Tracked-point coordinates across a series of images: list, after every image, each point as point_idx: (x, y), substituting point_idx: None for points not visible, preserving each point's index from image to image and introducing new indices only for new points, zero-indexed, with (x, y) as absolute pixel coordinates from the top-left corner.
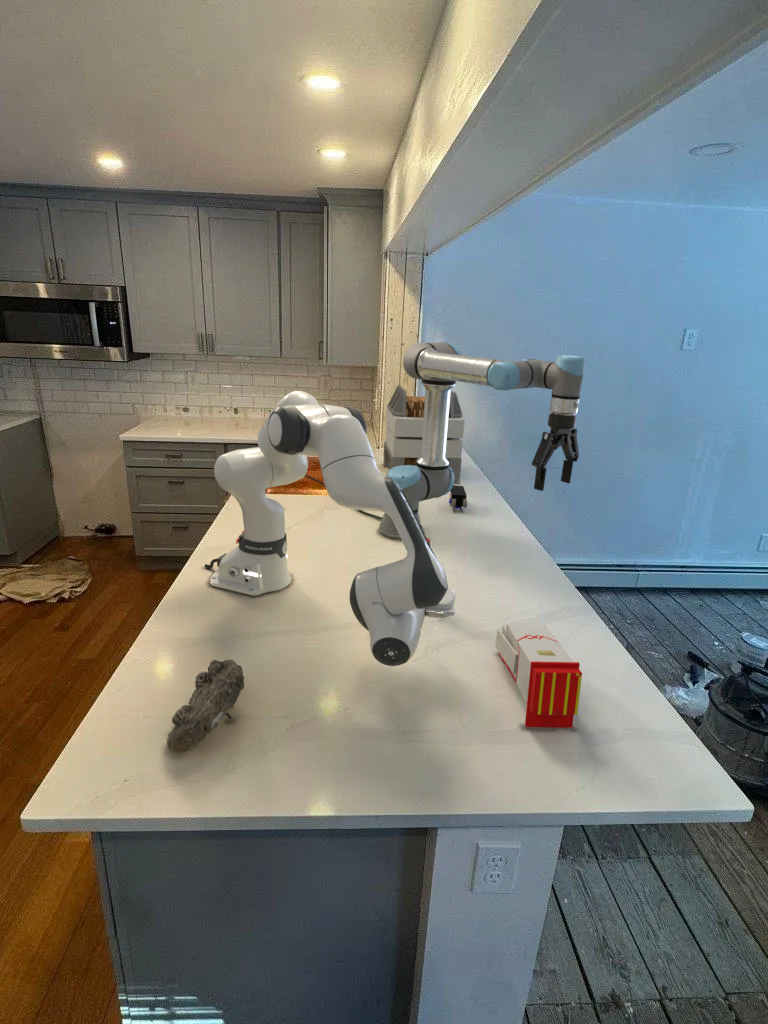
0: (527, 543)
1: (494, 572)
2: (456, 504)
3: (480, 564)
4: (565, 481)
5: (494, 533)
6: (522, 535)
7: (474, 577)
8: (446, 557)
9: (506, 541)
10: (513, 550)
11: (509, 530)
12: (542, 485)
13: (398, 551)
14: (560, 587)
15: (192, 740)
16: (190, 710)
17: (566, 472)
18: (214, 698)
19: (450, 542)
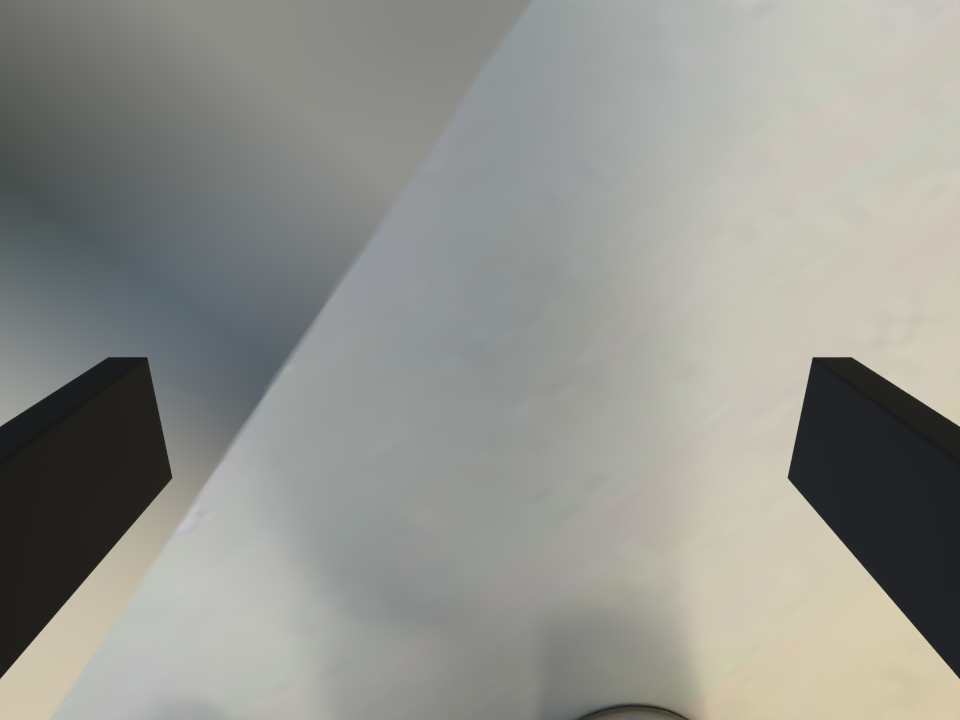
0: (250, 446)
1: (650, 341)
2: None
3: (628, 425)
4: (151, 414)
5: (300, 588)
6: (197, 512)
7: (762, 360)
8: (682, 542)
9: (322, 510)
10: (376, 435)
11: (209, 575)
12: (902, 394)
13: (778, 665)
14: (539, 41)
15: None
16: None
17: (63, 502)
18: None
19: (544, 622)
